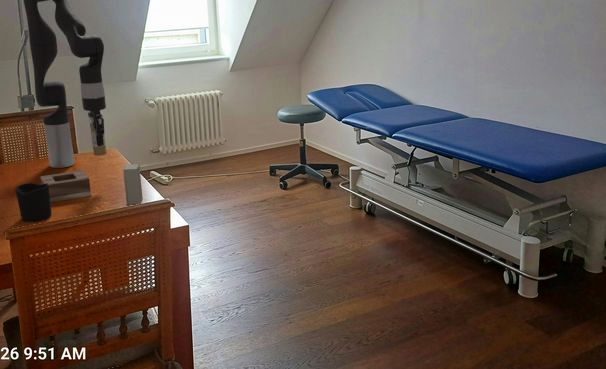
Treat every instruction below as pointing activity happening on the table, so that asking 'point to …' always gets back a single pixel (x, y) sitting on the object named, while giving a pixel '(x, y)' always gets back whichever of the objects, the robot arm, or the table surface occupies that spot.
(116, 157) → the table surface
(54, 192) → the socket block
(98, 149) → the sprinkles bottle
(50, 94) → the robot arm
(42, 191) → the pen holder
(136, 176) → the skincare box
